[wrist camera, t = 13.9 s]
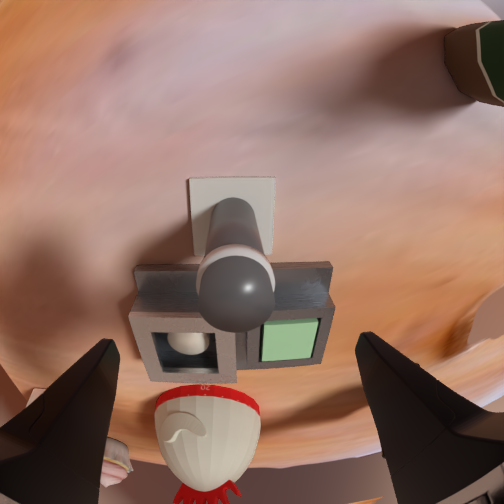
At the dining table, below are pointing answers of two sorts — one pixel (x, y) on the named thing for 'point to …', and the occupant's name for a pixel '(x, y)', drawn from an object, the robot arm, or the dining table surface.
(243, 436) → the kitchen timer
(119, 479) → the cupcake
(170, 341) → the button
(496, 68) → the beer bottle
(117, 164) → the dining table surface
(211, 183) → the pad
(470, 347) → the dining table surface
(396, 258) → the dining table surface
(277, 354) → the on button
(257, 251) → the gray capped cylinder
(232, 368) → the grey flat framed piece
